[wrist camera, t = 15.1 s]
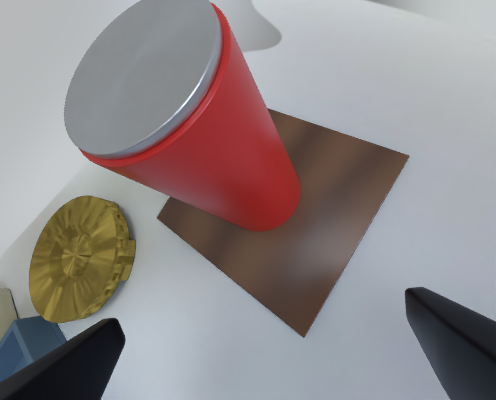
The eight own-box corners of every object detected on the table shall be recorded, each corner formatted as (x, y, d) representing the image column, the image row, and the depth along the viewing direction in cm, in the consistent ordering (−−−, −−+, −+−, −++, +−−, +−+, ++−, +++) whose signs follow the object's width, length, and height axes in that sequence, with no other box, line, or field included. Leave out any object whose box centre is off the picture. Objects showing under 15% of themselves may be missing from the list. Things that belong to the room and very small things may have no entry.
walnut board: (408, 158, 16) (410, 155, 15) (304, 336, 15) (303, 338, 15) (235, 100, 23) (233, 96, 23) (159, 218, 22) (156, 217, 22)
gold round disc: (44, 247, 28) (21, 246, 26) (112, 180, 26) (94, 173, 24) (66, 344, 22) (40, 352, 20) (152, 265, 21) (134, 265, 19)
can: (307, 224, 17) (232, 118, 5) (227, 237, 19) (43, 183, 7) (293, 147, 19) (217, -51, 7) (223, 167, 21) (75, 36, 9)
